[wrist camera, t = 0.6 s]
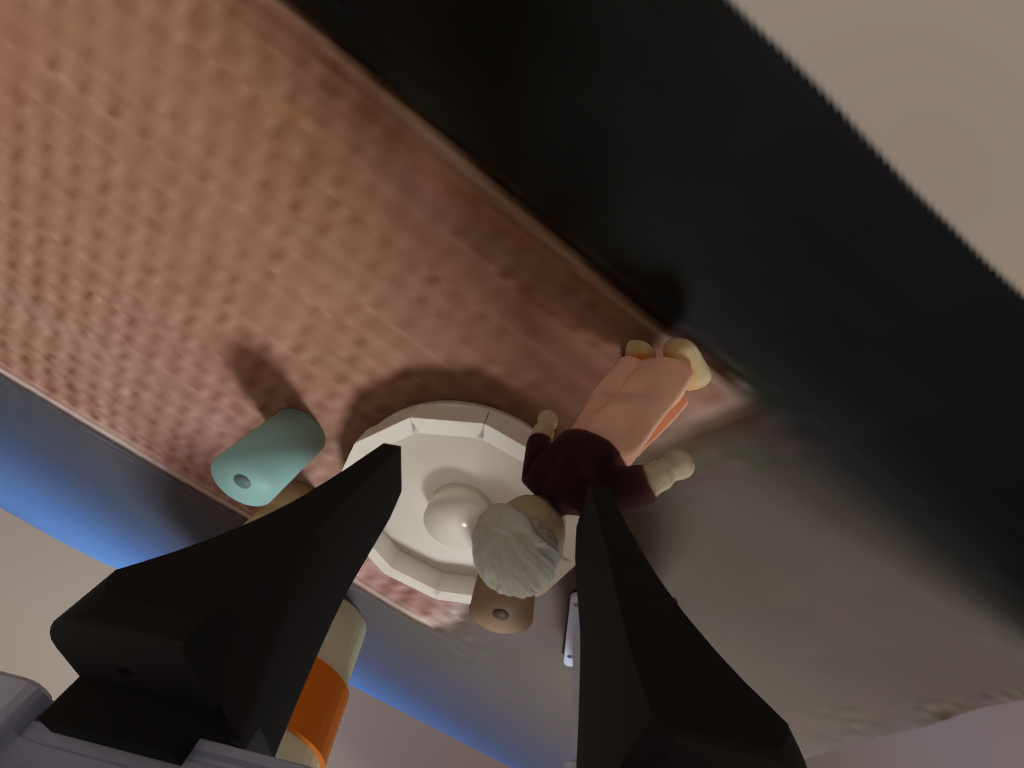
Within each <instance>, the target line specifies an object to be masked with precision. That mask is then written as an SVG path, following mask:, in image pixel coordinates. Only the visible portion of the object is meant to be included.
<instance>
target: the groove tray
mask: <svg viewBox="0 0 1024 768" xmlns="http://www.w3.org/2000/svg"><path fill="white" fill-rule="evenodd" d="M532 431H533V427H532V426H530V425H529V424H527V423H526V422H524V421H523V420H521V419H519V418H517V417H515V416H513V415H511V414H509V413H507V412H504V411H501V410H499V409H496V408H493V407H490V406H486V405H482V404H478V403H474V402H466V401H459V400H438V401H429V402H423V403H419V404H415V405H411V406H408V407H406V408H403V409H400V410H398V411H396V412H394V413H393V414H391V415H389V416H387V417H386V418H385V419H383V420H382V421H381V422H380V423H379V424H377V425H375V426H373V427H371V428H369V429H367V430H366V431H365V432H364V433H363V435H362V436H361V437H360V438H359V439H358V440H357V441H356V442H355V444H354V446H353V448H352V450H351V452H350V454H349V457H348V459H347V461H346V463H345V465H344V468H343V470H345V469H346V468H348V467H349V466H351V465H352V464H354V463H355V462H357V461H358V460H359V459H361V458H362V457H364V456H365V455H367V454H368V453H370V452H371V451H372V450H374V449H375V448H377V447H378V446H380V445H381V444H383V443H387V444H392V445H398V446H401V471H402V492H401V494H400V497H399V499H398V501H397V504H396V506H395V508H394V510H393V513H392V515H391V517H390V519H389V521H388V523H387V524H386V526H385V528H384V529H383V531H382V533H381V535H380V536H379V538H378V540H377V541H376V543H375V545H374V546H373V548H372V550H371V551H370V553H369V555H368V557H369V558H370V559H371V560H372V561H373V562H374V563H375V564H376V565H377V566H378V567H379V569H380V570H381V571H382V572H383V573H385V574H386V575H388V576H390V577H392V578H394V579H396V580H398V581H400V582H402V583H404V584H406V585H408V586H410V587H412V588H414V589H416V590H418V591H420V592H422V593H424V594H426V595H428V596H430V597H432V598H434V599H435V598H436V599H440V600H447V601H454V602H461V603H468V604H470V603H471V599H472V595H473V591H474V587H475V583H476V579H477V575H478V570H477V569H476V568H475V566H474V563H473V556H472V547H473V545H472V540H471V534H472V532H473V530H474V529H475V526H476V523H477V521H478V516H479V515H481V514H482V513H483V511H485V510H486V509H487V508H488V507H489V506H490V505H492V504H497V503H504V504H507V503H508V502H509V501H510V500H512V499H514V498H516V497H518V496H521V495H534V494H533V493H532V492H531V491H530V490H529V489H528V488H527V487H526V486H525V485H524V484H523V482H522V480H521V479H522V470H523V463H524V456H525V450H526V443H527V440H528V438H529V436H530V435H531V433H532ZM343 470H342V471H343ZM562 519H563V522H564V525H565V541H564V545H563V548H562V550H561V552H560V558H559V563H558V566H557V567H556V569H555V572H554V576H555V577H554V579H552V580H551V581H550V583H549V585H547V586H545V587H544V588H543V589H542V590H541V591H540V592H538V593H537V594H536V595H535V597H537V596H541V595H543V594H544V593H545V592H547V591H548V590H549V589H550V588H551V587H552V586H553V585H554V584H555V583H556V582H558V581H559V580H560V579H561V578H562V577H563V576H564V575H565V574H566V573H567V572H569V571H570V570H571V569H572V568H573V567H574V566H575V543H576V526H577V523H578V520H579V516H575V515H564V516H563V517H562Z"/></svg>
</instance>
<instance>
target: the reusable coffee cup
mask: <svg viewBox="0 0 1024 768" xmlns="http://www.w3.org/2000/svg"><path fill="white" fill-rule="evenodd" d="M365 633H366V623H365V620H364V618H363V617H362V615H361V614H360V612H359V611H358V610H357V609H356V608H355V607H354V606H353V605H351V604H350V603H349V602H348V601H346V600H345V599H343V601H342V603H341V605H340V607H339V610H338V612H337V614H336V616H335V618H334V620H333V622H332V624H331V626H330V629H329V631H328V633H327V635H326V637H325V640H324V642H323V644H322V646H321V648H320V651H319V653H318V655H317V657H316V659H315V662H314V664H313V666H312V669H311V671H310V673H309V676H308V678H307V680H306V683H305V685H304V687H303V690H302V692H301V694H300V697H299V699H298V701H297V704H296V706H295V709H294V711H293V714H292V716H291V718H290V721H289V723H288V726H287V728H286V731H285V733H284V736H283V738H282V741H281V743H280V746H279V748H278V751H277V753H276V756H275V758H279V759H283V760H287V761H291V762H295V763H299V764H303V765H307V766H310V767H314V768H325V766H326V763H327V760H328V757H329V754H330V751H331V748H332V745H333V742H334V739H335V736H336V733H337V730H338V727H339V724H340V721H341V718H342V715H343V712H344V709H345V707H346V704H347V700H348V698H349V692H348V688H347V685H348V683H349V680H350V677H351V674H352V671H353V668H354V665H355V662H356V659H357V657H358V654H359V651H360V648H361V645H362V642H363V639H364V636H365Z"/></svg>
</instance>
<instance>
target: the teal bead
mask: <svg viewBox="0 0 1024 768" xmlns="http://www.w3.org/2000/svg"><path fill="white" fill-rule="evenodd" d="M324 445H325V434H324V431H323V429H322V427H321V426H320V425H319V423H318V422H317V421H316V420H315V419H314V418H313V417H311V416H310V415H309V414H307V413H305V412H303V411H300V410H297V409H283V410H281V411H279V412H278V413H276V414H275V415H273V416H272V417H271V418H269V419H268V420H267V421H265V422H264V423H263V424H261V425H260V426H259V427H257V428H256V429H254V430H253V431H252V432H250V433H249V434H248V435H246V436H245V437H244V438H242V439H241V440H239V441H238V442H237V443H235V444H234V445H233V446H231V447H230V448H229V449H227V450H226V451H225V452H223V453H222V454H220V455H219V456H218V457H216V458H215V459H214V460H213V462H212V464H211V473H212V476H213V479H214V481H215V482H216V484H217V485H218V486H219V488H220V489H221V490H222V491H223V492H224V493H225V494H227V495H228V496H229V497H231V498H232V499H234V500H236V501H238V502H240V503H243V504H245V505H249V506H264V505H266V504H268V503H270V502H271V501H272V500H273V499H274V498H275V497H276V496H277V495H278V494H279V493H280V492H281V491H282V490H283V489H284V488H285V487H286V486H287V485H288V484H289V482H290V481H291V480H292V479H293V478H294V477H295V476H296V475H297V474H298V473H299V472H300V471H301V470H302V469H303V468H304V467H305V466H306V465H307V464H308V463H309V462H310V461H311V460H312V459H313V458H314V457H315V456H316V455H317V454H318V453H319V452H320V451H321V450H322V449H323V447H324Z"/></svg>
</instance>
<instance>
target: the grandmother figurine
mask: <svg viewBox="0 0 1024 768" xmlns="http://www.w3.org/2000/svg"><path fill="white" fill-rule="evenodd" d="M663 355H664V357H656V353H655V351H654V349H653V348H652V346H651V345H649V344H648V343H647V342H644V341H640V340H635V339H634V340H630V341H629V342H628V343H627V345H626V350H625V356H624V357H621V358H620V359H619V361H618V362H617V363H616V364H615V366H614V367H613V368H612V369H611V370H610V371H609V373H608V374H607V375H606V376H605V377H604V378H603V380H602V381H601V382H600V383H599V384H598V385H597V386H596V388H595V389H594V391H593V393H592V395H591V397H590V398H589V400H588V402H587V404H586V405H585V407H584V408H583V410H582V411H581V413H580V415H579V417H578V418H577V420H576V422H575V424H574V426H573V427H571V428H570V429H568V430H565V431H564V432H562V433H561V435H560V436H559V437H558V438H557V439H555V440H554V441H553V442H552V440H553V437H554V429H555V428H556V426H557V424H558V416H557V415H556V413H555V412H554V411H552V410H548V409H547V410H543V411H542V412H540V414H539V415H538V418H537V422H538V423H537V424H536V425H535V426H534V428H533V431H532V433H531V435H530V436H529V438H528V440H527V443H526V450H525V456H524V463H523V470H522V479H521V480H522V482H523V484H524V485H525V486H526V487H527V488H528V489H529V490H530V491H531V492H532V493H533V494H534V495H521V496H518V497H516V498H514V499H512V500H510V501H509V502H508V503H507V504H504V503H497V504H492V505H490V506H489V507H488V508H487V509H486V510H485V511H483V513H482V514H481V515H479V516H478V521H477V523H476V526H475V529H474V530H473V532H472V534H471V540H472V545H473V547H472V556H473V563H474V566H475V568H476V569H477V570H478V573H479V575H480V577H481V578H482V579H483V581H484V582H485V583H486V585H487V586H488V587H489V588H491V589H493V590H495V591H497V592H498V593H499V594H505V595H507V596H509V597H510V596H515V597H518V598H521V599H524V598H526V597H532V596H533V595H536V594H537V593H538V592H540V591H541V590H542V589H543V588H544V587H545V586H547V585H549V583H550V581H551V580H552V579H554V577H555V576H554V572H555V569H556V567H557V566H558V563H559V558H560V552H561V550H562V548H563V545H564V541H565V525H564V522H563V519H562V517H563V516H564V515H575V516H580V513H581V510H582V507H583V503H584V500H585V497H586V493H587V490H588V487H589V483H591V484H596V485H601V486H606V487H609V489H610V490H611V492H612V495H613V497H614V499H615V501H616V503H617V505H618V507H619V509H620V512H621V514H625V513H627V512H630V511H632V510H634V509H637V508H639V507H642V506H644V505H647V504H649V503H651V502H653V501H655V500H656V498H657V496H658V495H659V494H660V493H662V492H664V491H665V490H667V489H669V488H670V487H671V486H672V485H673V483H674V482H675V481H677V480H683V479H686V478H688V477H689V476H691V475H692V473H693V471H694V468H695V463H694V461H693V459H692V457H691V456H690V455H689V454H688V453H687V452H685V451H683V450H681V449H677V448H675V449H671V450H669V451H667V452H666V453H665V454H664V455H663V456H662V457H661V458H660V459H658V460H652V461H650V462H648V463H646V464H644V465H633V466H631V464H632V463H633V462H634V460H635V459H636V458H637V457H638V456H639V455H640V454H641V453H642V452H643V451H644V449H645V448H646V447H647V446H648V445H649V444H650V443H651V442H652V441H654V440H655V439H656V438H657V437H658V436H659V435H660V434H661V433H662V432H663V431H664V430H665V429H666V428H667V427H668V426H669V425H670V424H671V423H672V422H673V421H674V420H675V419H676V418H677V417H678V415H679V414H680V413H681V412H682V411H683V409H684V408H685V407H686V406H687V404H688V401H687V399H686V397H684V396H683V395H684V394H685V392H686V390H697V389H700V388H702V387H704V386H706V385H707V384H708V383H709V382H710V380H711V372H710V370H709V368H708V366H707V364H706V362H705V361H704V359H703V357H702V355H701V353H700V352H699V350H698V348H697V347H696V346H695V345H694V344H693V343H692V342H691V341H689V340H686V339H682V338H676V339H670V340H668V341H667V342H666V343H665V344H664V347H663Z"/></svg>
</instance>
